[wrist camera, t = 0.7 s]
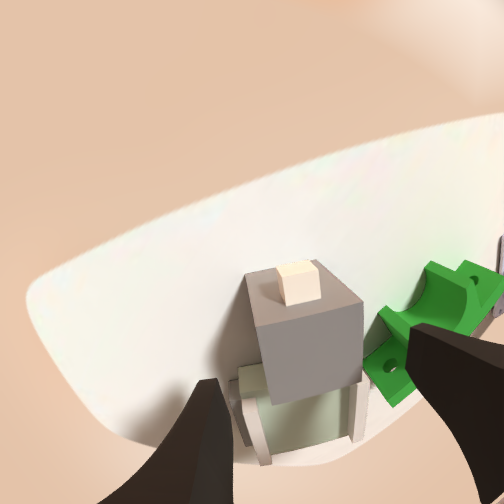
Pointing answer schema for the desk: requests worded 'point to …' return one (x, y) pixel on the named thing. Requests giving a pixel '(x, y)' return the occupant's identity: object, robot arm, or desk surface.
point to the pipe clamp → (432, 320)
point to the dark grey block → (306, 330)
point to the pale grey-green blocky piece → (295, 415)
